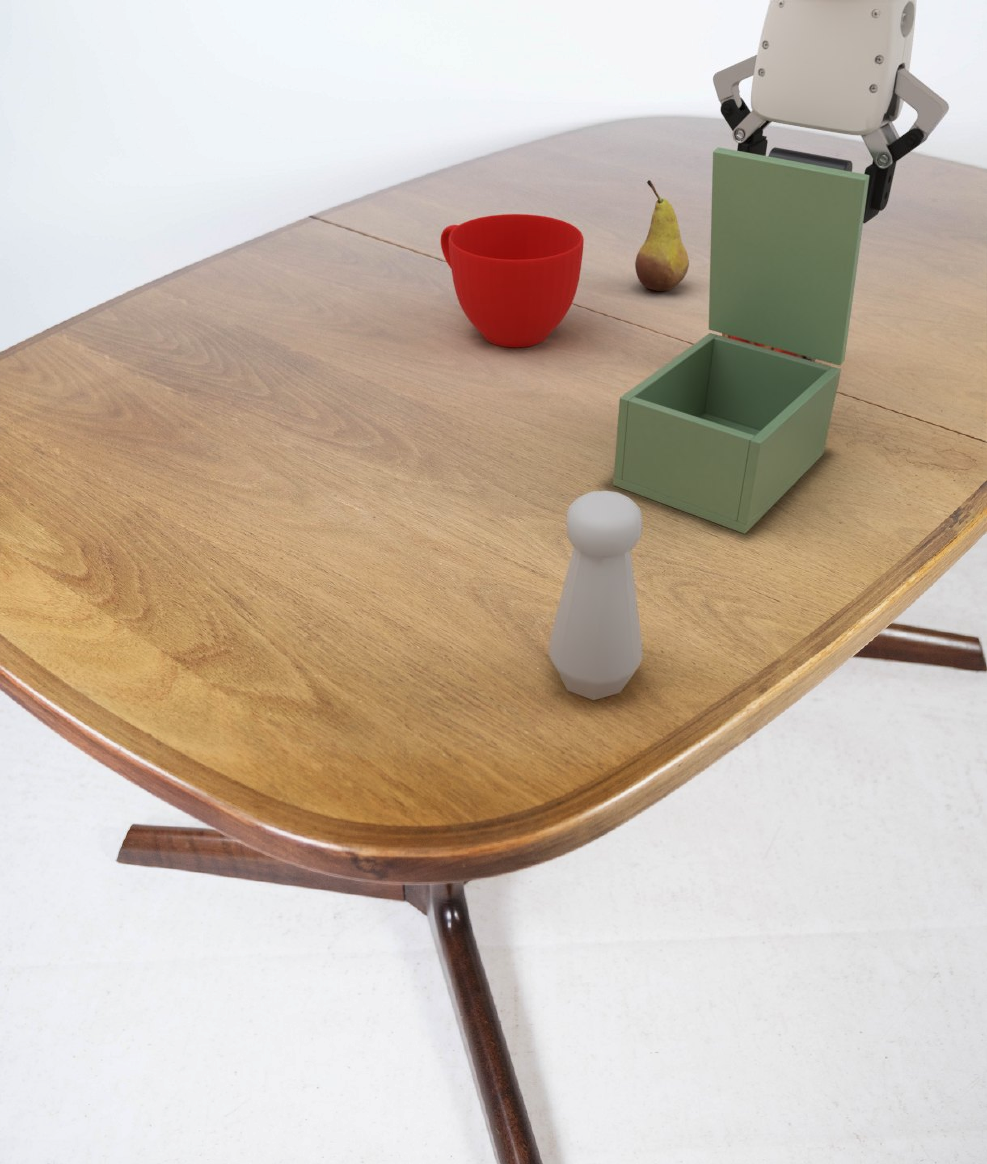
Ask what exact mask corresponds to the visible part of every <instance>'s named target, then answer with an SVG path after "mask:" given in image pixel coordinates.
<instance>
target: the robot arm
mask: <svg viewBox="0 0 987 1164" xmlns="http://www.w3.org/2000/svg"><path fill="white" fill-rule="evenodd" d="M916 14H917V0H769V3H768V7H767V10H766V14H765V18H764V22H763V26H762V30H761V35H760V39H759V43H758V48H757V54H755V55H753V56H750V57H749V58H746V59H744V60H742V61H740V62H739V61H738V62H737V63H734V64H733V65H731V66H729V67H726V68H724V69H721V70H720V71H717V72H716V73H714V74H713V77H712V82H713V86H714V89H715V92H716V96H717V99H718V102H720V114H721V115H722V117H723V118H724V120H725V121H726V123H727V124H728V126H729V128H730V129H731V131H732V139H733V141H735V143H737V149H736V151H741V152H747V153H752V154H757V155H763V156H767V149H768V141H769V140H768V139H767V138H768V137H767V136H766V135H764V130H765V129H767V127H769V125H771V123H777V124H782V125H788V126H794V127H799V128H805V129H812V130H818V131H824V132H829V133H836V134H842V135H849V136H860V137H861V138H862V141H863V143H864V144H865V146H866V149H867V150H868V152H869V154H870V157H871V158H872V163H871V164H869V165H868V166H866V167H865V169H864V173H863V174H866V175H869V183H868V190H867V198H866V205H865V212H864V220H863V225H864V224H866V223H868V222H869V221H871V220H872V219H873V218H875V217H876V216H878V215H879V213H880V212H882V211H884V210H885V209H886V207H887V205H888V202H889V200H890V199H889V198H890V194H891V191H892V190H891V189H892V184H893V180H894V175H895V170H896V166H897V162H898V161H899V160H901V159H902V158H904V157H905V156H906V155H908V154H910V152H912V151H914V150H915V149H916V148H918V147H919V146H920V145H922V144H924V143H925V142H926V141H927V140H928V137H929V136H930V135H931V134H932V133H933V131H934V130H935V129H936V128H937V126H938V125H939V123H941V122H942V120H943V119H944V117H945V116H946V115H947V114H948V112H949V110H950V106H949V103H948V102H947V100H945V99H944V98H942V97H941V96H940V95H939V94H937V93H936V92H935V91H934V90H933V89H931V88H930V87H929V86H927V85H926V84H925V83H923V81H921V80H920V79H919V78H917V77H916V76H915V75H914V74H913V73H911V72H910V68H911V67H910V66H911V60H912V54H913V53H912V52H913V45H914V35H915V26H916V16H917V15H916ZM751 77H752V82H751V91H750V107H751V110H750V108H749V106H748V105H747V103H746V102H745V100H744V99H743V98H742V97H741V95H740V93H741V92H740V87H739V86H740V84H741V82H742V81H743V80H746V79H749V78H751ZM904 102H905V103H906V104H907V105H908V106H910V107H911V108H912V109H913V110H915V112H916V113H917V117H916V120H915V121H914V122H913V124H912V125H911V127H910V128H909V129H908V130H907V131H906V132H905V133H904V134H902V135H899V132H898V130H897V129H896V127H895V125H894V123H893V122H895V121H896V120H897V119H898V118H899V117H900V115H901V112H902V110H903V106H904Z"/></svg>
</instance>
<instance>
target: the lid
mask: <svg viewBox="0 0 987 1164" xmlns="http://www.w3.org/2000/svg"><path fill="white" fill-rule="evenodd" d="M853 165H854V164H853V162H852V160H849V159H843V158H837V157H833V156H826V155H820V154H815V153H809V152H805V151H798V150H793V149H789V148H788V149H787V148H782V147H776V146H775V147H772V148H771V149H770V151H769V153H768V156H767V155H766V156H763V155H757V154H752V153H747V152H741V151H737V149H730V148H724V147H720V146H719V147H717V148H715V150H713V151H712V177H711V178H712V181H711V215H710V216H711V217H710V218H711V219H710V256H709V257H710V258H709V293H708V294H709V298H708V299H709V300H708V301H709V303H708V331H712V332H715V333H718V334H719V333H720V334H722V333H723V334H726V335H730V336H734V337H737V338H741V339H745V340H748V341H752V342H756V343H759V344H763V345H766V346H770V347H774V348H777V349H781V350H785V351H788V352H792V353H795V354H799V355H803V356H806V357H810V358H814V359H816V360H817V361H820V362H821V361H822V362H826V363H828V364H832V365H836V366H839V367H841V366H842V365H843V363H844V362H845V359H846V352H847V344H848V338H849V330H850V322H851V316H852V309H853V308H852V307H853V301H854V293H855V286H856V278H857V271H858V264H859V257H860V248H861V241H862V233H863V227H864V223H863V220H864V212H865V205H866V198H867V190H868V183H869V175H866V174H864V173H859V172H854V171H853V168H854V167H853Z"/></svg>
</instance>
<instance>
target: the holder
mask: <svg viewBox="0 0 987 1164" xmlns="http://www.w3.org/2000/svg"><path fill="white" fill-rule="evenodd" d="M841 372H842V369H841V368H838V367H835V366H831V365H827V364H824V363H820V362H816V361H815V362H813V361H810V360H806V359H803V358H799V357H795V356H792V355H788V354H785V353H781V352H777V351H774V350H770V349H767V348H763V347H759V346H756V345H752V344H748V343H745V342H741V341H738V340H734V339H730V338H727V337H723V336H722V335H719V334H715V333H712V332H709V333H708V334H706V335H705V336H704V337H702V338H701V339H699V340H698V341H697V342H695V343H694V344H691V346H689V347H688V348H686V349H685V350H683V352H681V353H680V354H678V355H677V356H676V357H674V358H673V359H671V360H670V361H668V362H667V363H666V364H665V365H663V366H662V367H660V368H659V369H658V370H655V372H653V373H652V374H651V375H649V376H648V377H646V378H645V379H644V380H642V381H640V383H638V384H636V385H635V386H633V388H631V389H630V390H628V391H627V392H625V393H624V394H623V395H621V396H620V397H619V401H618V414H617V415H618V417H617V427H616V428H617V429H616V441H615V442H616V444H615V453H614V454H615V455H614V467H613V479H612V485H613V486H614V487H617V488H620V489H622V490H624V491H628V492H630V493H633V494H636V495H638V496H641V497H644V498H647V499H650V500H652V501H655V502H658V503H660V504H662V505H666V506H669V507H671V508H673V509H677V510H679V511H682V512H684V513H688V514H690V515H692V516H695V517H698V518H701V519H703V520H707V521H709V522H712V523H714V524H717V525H720V526H723V527H725V528H728V529H730V530H732V531H733V530H734V531H736V532H738V533H741V534H744V535H746V534H747V533H748V532H749V531H750V530H751V529H752V528H753V527H754V525H756V523H758V522H759V520H760V519H762V517H764V515H766V513H767V512H768V511H769V510H770V509H771V508H773V506H774V505H775V504H776V503H777V502H778V501H779V500H780V499H781V498H782V497H783V496H784V495H785V494H786V493H787V492H788V491H789V490H790V489H791V488H792V487H793V486H794V485H795V484H796V483H797V482H798V481H799V480H800V479H801V477H803V476H804V475H805V474H806V472H807V471H808V470H809V469H811V467H812V466H814V464H816V462H817V461H818V460H819V459H820V458H821V457H822V456H824V454H825V453H824V452H825V448H826V443H827V438H828V434H829V428H830V424H831V420H832V415H833V410H834V405H835V400H836V397H837V396H836V395H837V391H838V386H839V381H840V377H841Z"/></svg>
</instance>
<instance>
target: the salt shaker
mask: <svg viewBox="0 0 987 1164" xmlns="http://www.w3.org/2000/svg"><path fill="white" fill-rule="evenodd" d="M642 516H643V515H642V508H641V507H639V506H638V505H637V503H636V502H635V501H634V500H633V499H631V498H630V497H629V496H627V495H624V494H622V493H620V492H617V491H610V490H595V491H594V490H593V491H590V492H587V493H585V494H581V495H580V496H578V497H577V498H576V499H575V500H574V501H573V502H572V503H571V504H570V505H569V506H568V509H567V513H566V536H567V539H568V541H569V542H570V544H572V546H573V548H572V552H571V555H570V559H569V564H568V567H567V571H566V575H565V578H564V582H563V586H562V590H561V594H560V597H559V602H558V606H557V610H556V614H555V617H554V621H553V626H552V628H551V632H550V636H549V645H548V646H549V647H548V656H549V661H550V663H552V665H553V666H554V668H555V669H556V671H557V672H558V675H559V676H560V679H561V680H562V683H563V684H564V685H563V686H564V687H565V690H566V691H568V692H569V693H573V694H575V695H578V696H581V697H584V698H586V699H589V700H592V701H596V700H599V699H600V700H601V699H603V698H606V697H610V696H614V695H617V694H620V693H621V692H622V691H623V689H624V688H625V687H626V686H627V684H628V683H629V681H630V680H631V679H632V678H633V676H634V674H635V673H636V672H637V669H639V667H640V665H641V663H642V660H643V639H642V631H641V622H640V615H639V606H638V599H637V598H638V597H637V589H636V582H635V575H634V574H635V573H634V565H633V558H632V551H633V550H634V548H635V547H636V546H637V545H638V543H639V541H640V540H641V538H642V532H643V517H642Z"/></svg>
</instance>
